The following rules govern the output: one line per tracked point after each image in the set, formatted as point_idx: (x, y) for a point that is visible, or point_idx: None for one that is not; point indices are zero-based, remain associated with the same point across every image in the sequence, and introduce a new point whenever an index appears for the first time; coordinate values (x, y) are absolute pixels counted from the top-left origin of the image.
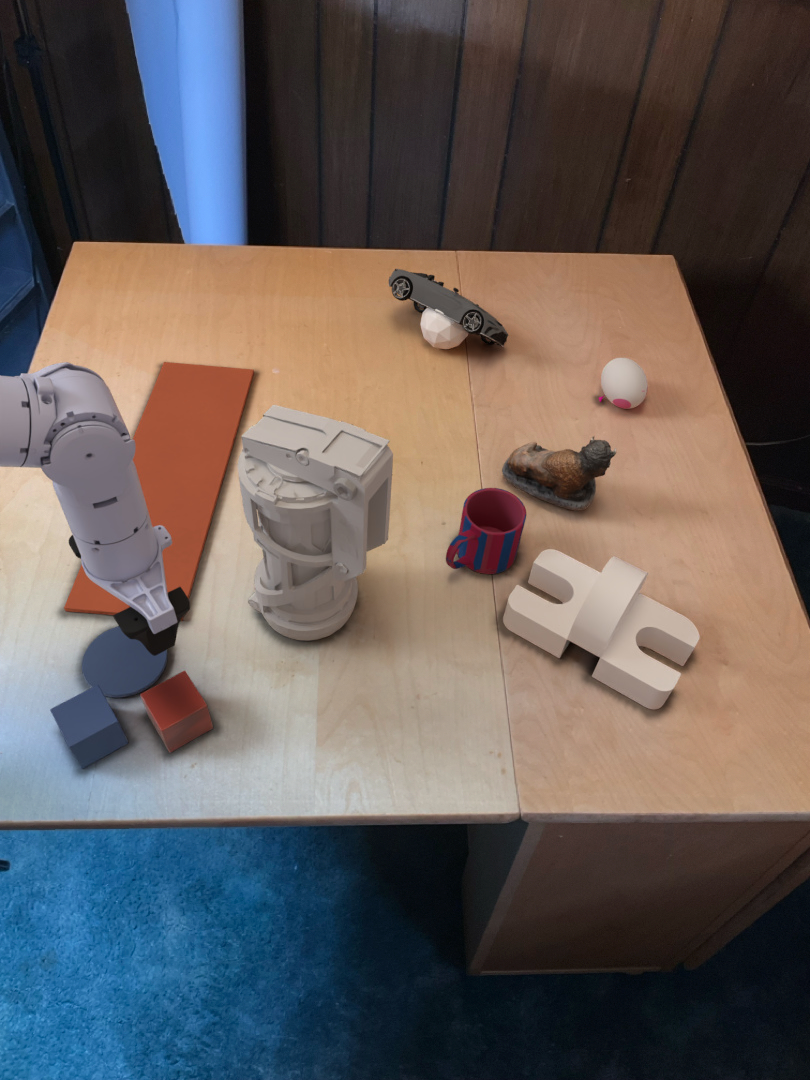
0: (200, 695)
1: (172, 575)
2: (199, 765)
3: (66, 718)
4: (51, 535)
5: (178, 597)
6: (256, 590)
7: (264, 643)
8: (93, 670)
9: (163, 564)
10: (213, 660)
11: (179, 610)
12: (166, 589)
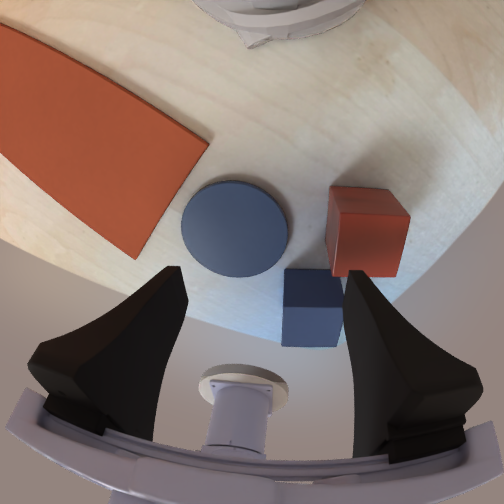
0: (391, 215)
1: (132, 131)
2: (412, 224)
3: (303, 340)
4: (50, 232)
5: (444, 403)
6: (260, 27)
7: (314, 60)
8: (230, 267)
9: (362, 495)
10: (298, 135)
11: (470, 405)
12: (454, 489)
